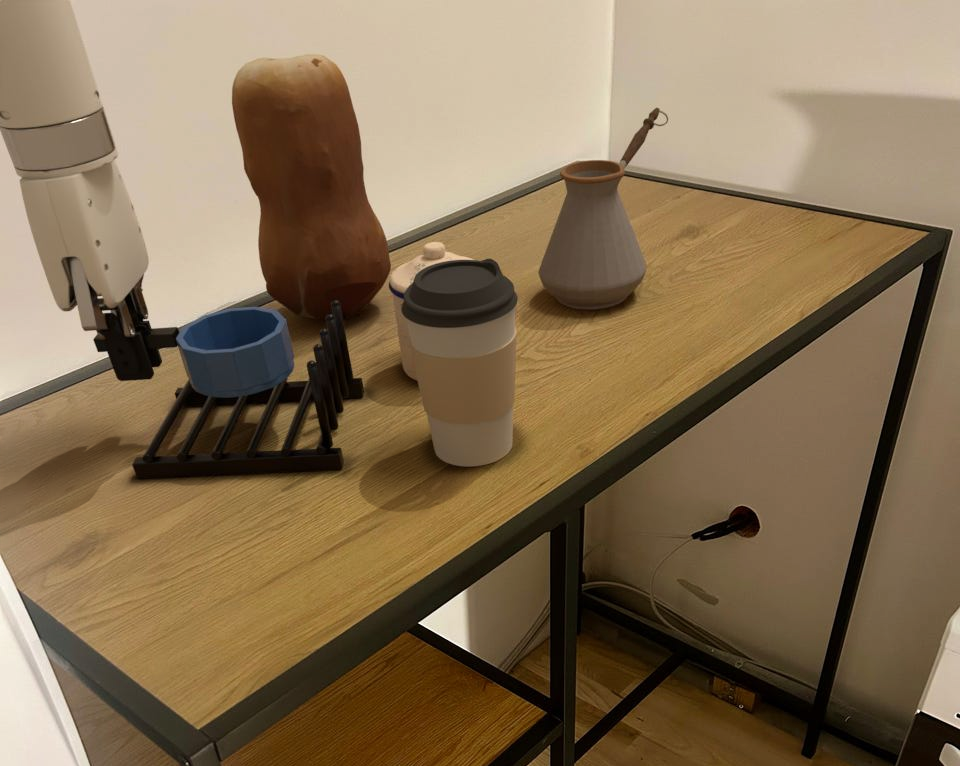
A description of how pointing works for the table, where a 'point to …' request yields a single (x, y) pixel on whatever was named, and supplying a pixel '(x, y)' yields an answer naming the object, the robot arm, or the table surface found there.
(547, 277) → the coffee pot
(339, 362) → the dish rack
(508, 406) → the coffee cup
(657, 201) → the table surface
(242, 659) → the table surface
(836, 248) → the table surface
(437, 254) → the teacup with lid
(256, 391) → the saucepan
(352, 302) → the butternut squash
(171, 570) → the table surface
